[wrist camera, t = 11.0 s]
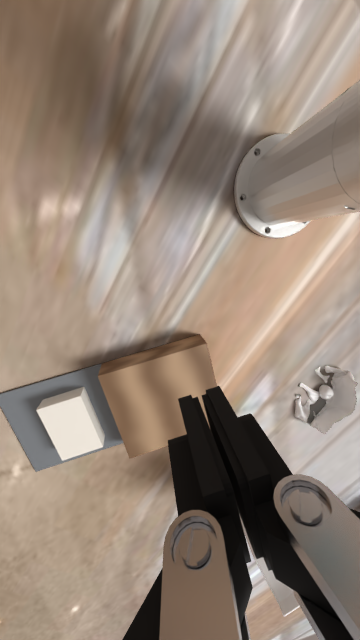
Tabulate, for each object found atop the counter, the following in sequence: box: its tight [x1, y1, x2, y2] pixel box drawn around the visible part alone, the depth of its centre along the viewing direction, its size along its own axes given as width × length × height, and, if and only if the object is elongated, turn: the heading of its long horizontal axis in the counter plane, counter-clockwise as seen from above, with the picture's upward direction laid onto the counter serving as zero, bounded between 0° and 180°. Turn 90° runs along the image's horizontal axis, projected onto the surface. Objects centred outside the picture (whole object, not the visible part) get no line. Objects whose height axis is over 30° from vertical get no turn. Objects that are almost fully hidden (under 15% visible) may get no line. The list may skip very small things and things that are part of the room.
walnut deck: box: [98, 334, 217, 458], centre depth 37 cm, size 15×14×4 cm
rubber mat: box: [0, 363, 123, 472], centre depth 37 cm, size 15×14×1 cm
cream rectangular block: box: [36, 387, 105, 461], centre depth 36 cm, size 6×9×2 cm, turn 15°
